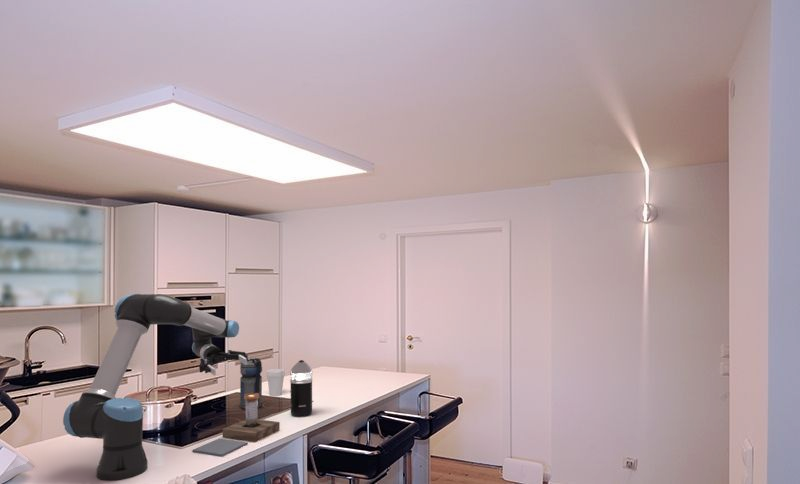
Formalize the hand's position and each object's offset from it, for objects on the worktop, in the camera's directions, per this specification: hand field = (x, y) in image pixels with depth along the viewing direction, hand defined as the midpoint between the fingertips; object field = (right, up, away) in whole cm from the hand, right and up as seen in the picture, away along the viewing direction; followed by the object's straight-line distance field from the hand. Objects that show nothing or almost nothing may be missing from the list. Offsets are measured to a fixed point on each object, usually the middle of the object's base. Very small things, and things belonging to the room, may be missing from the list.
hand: (230, 366), depth 215 cm
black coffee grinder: (+25, -28, +25) cm, 45 cm away
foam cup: (+3, -31, +64) cm, 71 cm away
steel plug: (+10, -27, -3) cm, 29 cm away
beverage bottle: (-2, -30, +38) cm, 48 cm away
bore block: (+10, -27, -3) cm, 29 cm away
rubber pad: (+3, -26, -20) cm, 33 cm away
